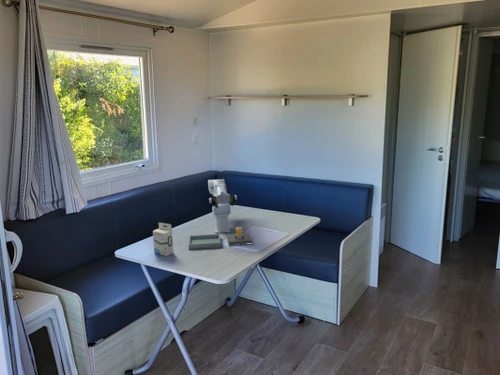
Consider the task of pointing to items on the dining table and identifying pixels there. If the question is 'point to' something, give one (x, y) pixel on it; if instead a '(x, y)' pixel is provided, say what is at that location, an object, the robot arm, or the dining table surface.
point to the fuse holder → (234, 241)
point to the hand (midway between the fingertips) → (224, 205)
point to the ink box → (163, 240)
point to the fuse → (239, 232)
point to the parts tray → (204, 241)
